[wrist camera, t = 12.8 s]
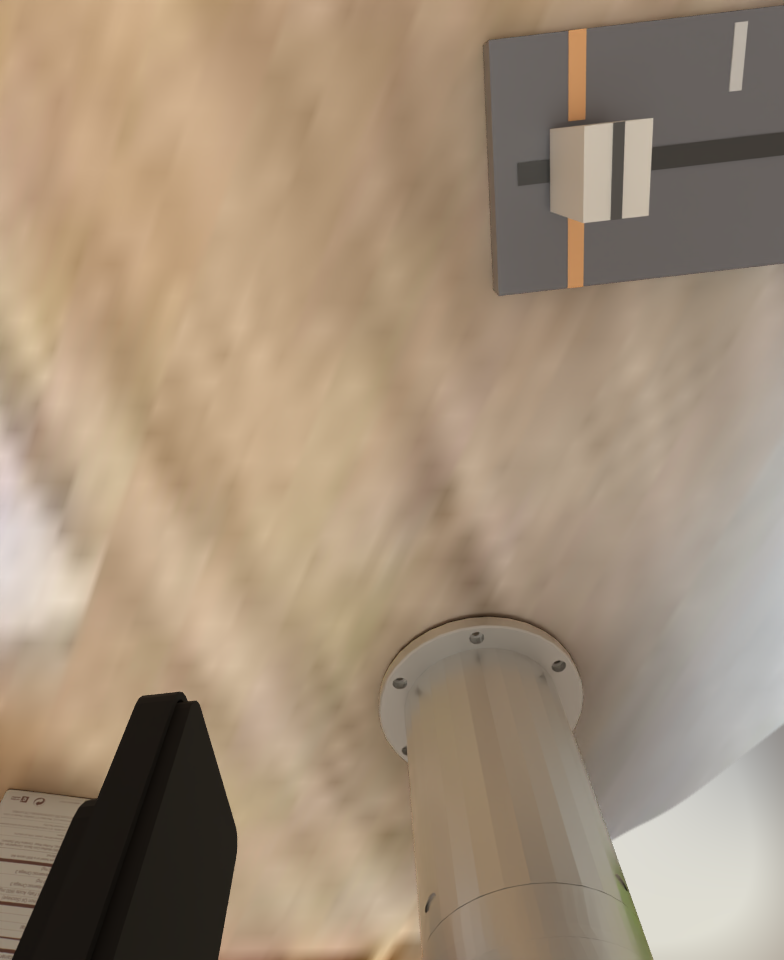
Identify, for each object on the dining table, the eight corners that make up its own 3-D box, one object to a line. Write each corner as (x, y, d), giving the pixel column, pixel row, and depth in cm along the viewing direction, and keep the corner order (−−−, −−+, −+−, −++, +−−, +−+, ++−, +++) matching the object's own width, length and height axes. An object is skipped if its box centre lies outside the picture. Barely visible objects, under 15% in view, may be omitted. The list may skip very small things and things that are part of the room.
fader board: (915, 241, 33) (939, 245, 32) (493, 289, 33) (498, 296, 32) (967, -13, 29) (999, -21, 27) (482, 44, 29) (489, 39, 28)
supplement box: (114, 871, 50) (40, 1086, 39) (5, 859, 49) (-103, 1075, 38) (122, 799, 47) (45, 1009, 36) (6, 784, 46) (-111, 995, 35)
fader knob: (605, 205, 30) (649, 215, 26) (550, 211, 30) (583, 223, 26) (607, 122, 29) (654, 117, 24) (549, 129, 29) (584, 125, 24)
